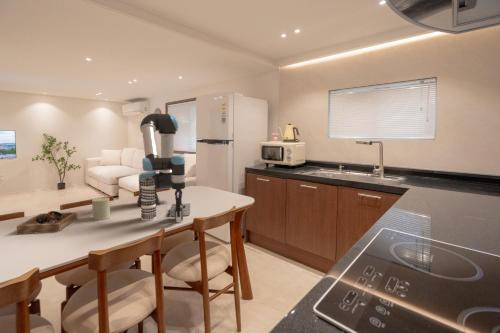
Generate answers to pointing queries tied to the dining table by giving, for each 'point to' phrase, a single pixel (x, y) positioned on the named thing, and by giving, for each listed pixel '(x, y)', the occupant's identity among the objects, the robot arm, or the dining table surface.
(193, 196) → the dining table surface
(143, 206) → the decorative candle
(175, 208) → the plug
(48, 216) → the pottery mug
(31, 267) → the dining table surface
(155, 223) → the dining table surface
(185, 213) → the socket plate
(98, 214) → the can
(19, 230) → the tray
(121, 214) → the dining table surface
